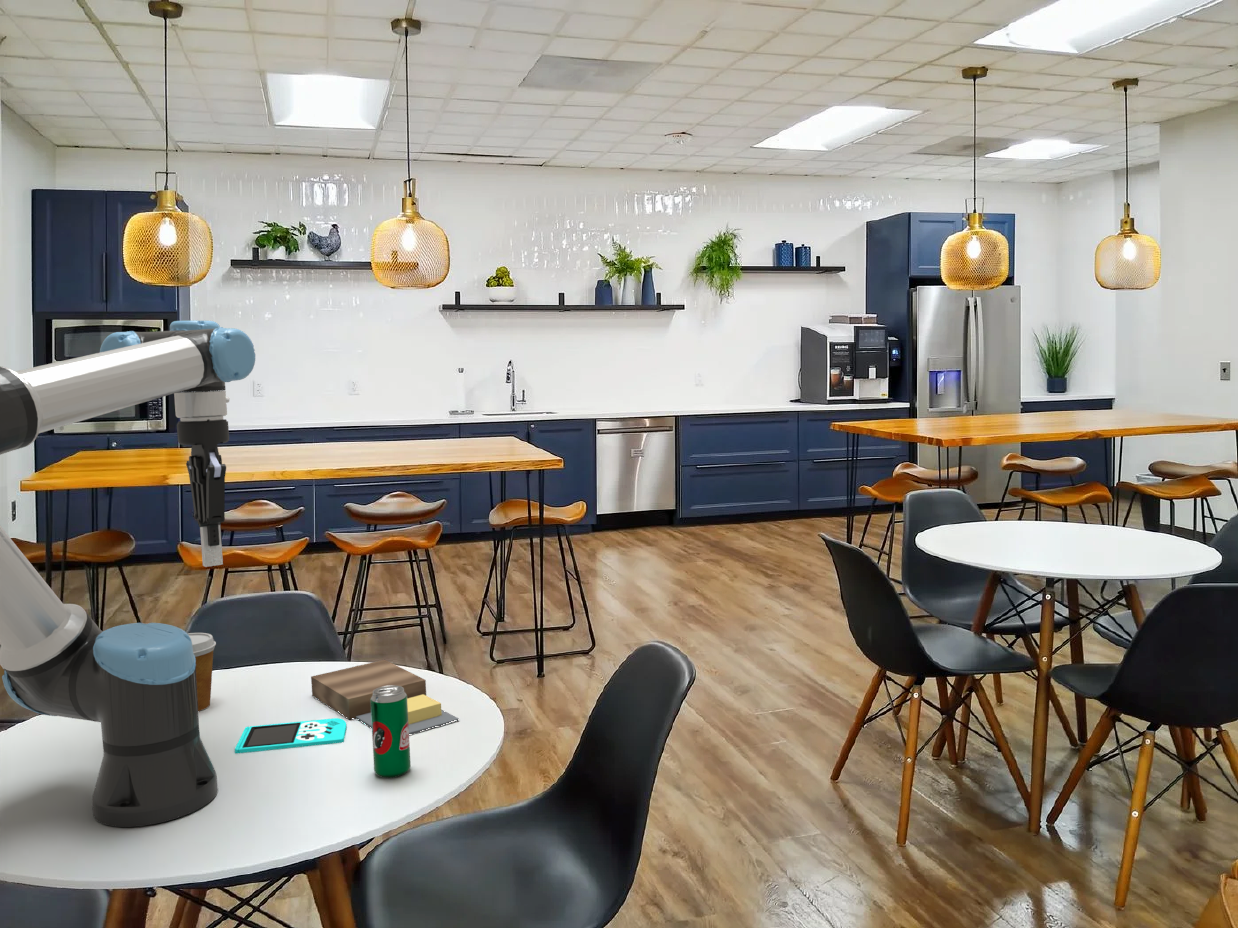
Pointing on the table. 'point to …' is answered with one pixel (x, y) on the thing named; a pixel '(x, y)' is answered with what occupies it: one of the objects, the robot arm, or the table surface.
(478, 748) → the table surface
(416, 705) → the yellow rectangular block
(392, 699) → the soda can
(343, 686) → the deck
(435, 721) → the mat
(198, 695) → the disposable coffee cup
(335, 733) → the handheld game console
